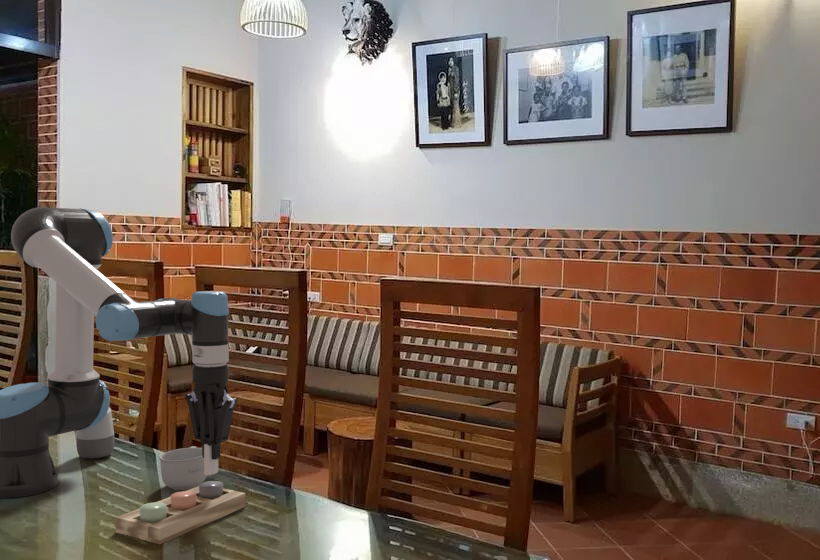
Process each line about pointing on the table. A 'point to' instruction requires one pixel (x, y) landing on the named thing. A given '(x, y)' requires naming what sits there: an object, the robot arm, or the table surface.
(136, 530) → the button panel
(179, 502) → the terracotta button
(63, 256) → the robot arm
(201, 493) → the charcoal button
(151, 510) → the sage button
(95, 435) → the smart speaker
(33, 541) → the table surface
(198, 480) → the teacup
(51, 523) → the table surface
